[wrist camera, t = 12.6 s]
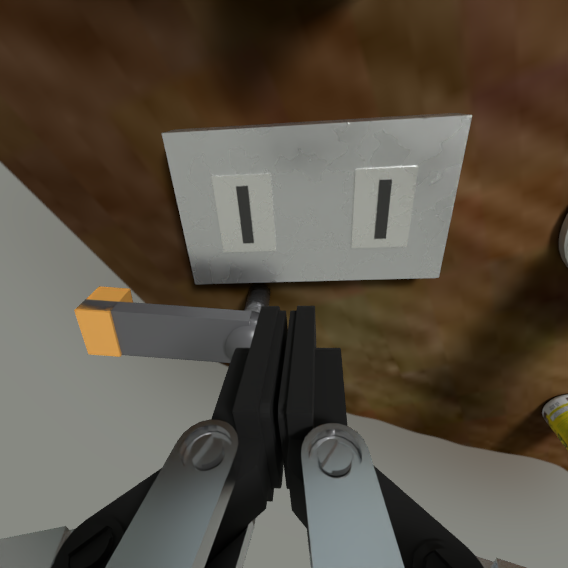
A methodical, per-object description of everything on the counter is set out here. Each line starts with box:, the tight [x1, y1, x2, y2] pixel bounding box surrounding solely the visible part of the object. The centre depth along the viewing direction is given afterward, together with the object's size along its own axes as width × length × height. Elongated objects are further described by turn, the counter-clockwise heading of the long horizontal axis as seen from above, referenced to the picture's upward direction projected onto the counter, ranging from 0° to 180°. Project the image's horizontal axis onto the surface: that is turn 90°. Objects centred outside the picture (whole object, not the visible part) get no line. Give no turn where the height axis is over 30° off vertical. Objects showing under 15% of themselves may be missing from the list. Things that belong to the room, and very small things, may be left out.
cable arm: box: [74, 287, 259, 363], centre depth 31 cm, size 17×5×4 cm, turn 87°
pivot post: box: [244, 283, 270, 313], centre depth 34 cm, size 2×2×6 cm
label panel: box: [162, 113, 472, 284], centre depth 30 cm, size 24×14×3 cm, turn 93°
